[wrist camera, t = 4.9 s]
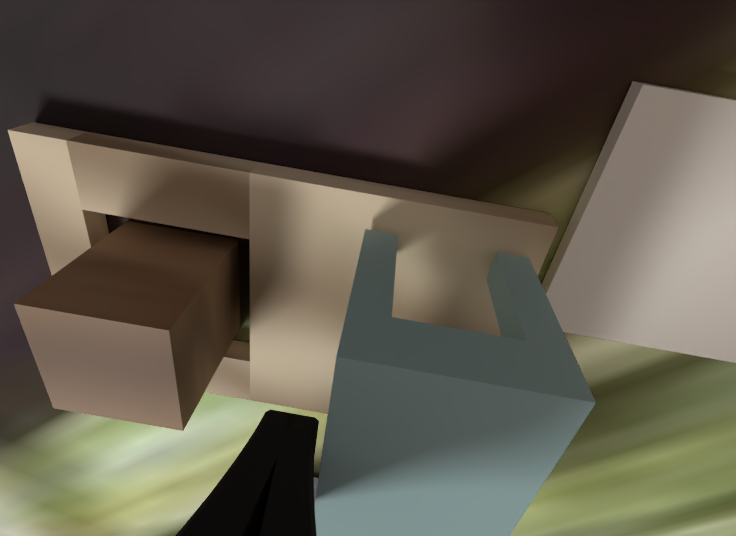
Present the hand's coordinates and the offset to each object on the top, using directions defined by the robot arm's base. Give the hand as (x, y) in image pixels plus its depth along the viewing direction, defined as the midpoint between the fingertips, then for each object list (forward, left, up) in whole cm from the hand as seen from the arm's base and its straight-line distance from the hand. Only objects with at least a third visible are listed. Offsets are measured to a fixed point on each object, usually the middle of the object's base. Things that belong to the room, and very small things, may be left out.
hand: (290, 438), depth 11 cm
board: (0, +2, -6) cm, 6 cm away
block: (0, +5, -6) cm, 8 cm away
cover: (0, -3, -5) cm, 6 cm away
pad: (+5, -11, -6) cm, 14 cm away
